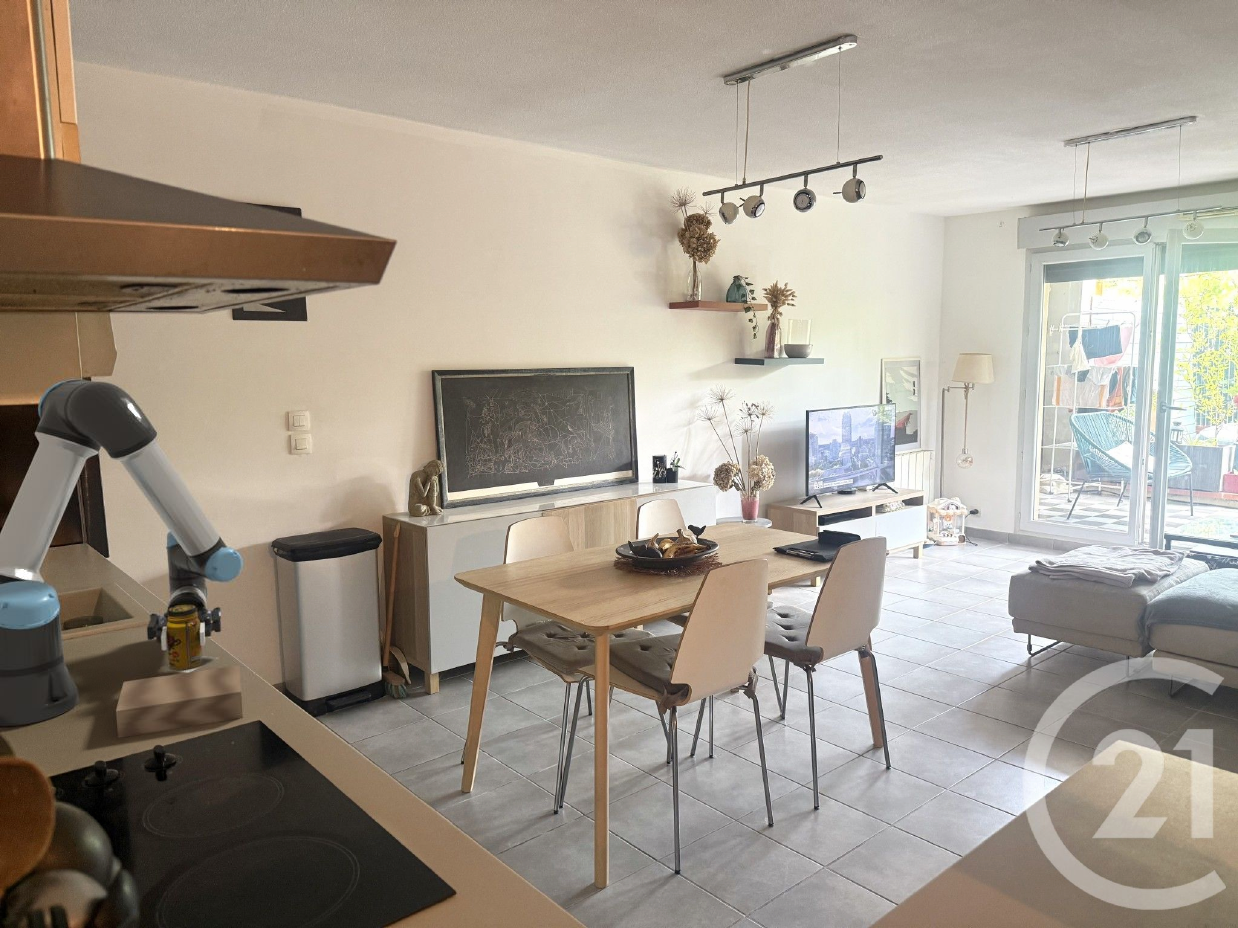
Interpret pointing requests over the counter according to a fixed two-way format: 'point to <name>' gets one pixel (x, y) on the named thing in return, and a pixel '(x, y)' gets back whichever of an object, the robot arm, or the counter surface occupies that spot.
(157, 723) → the stand
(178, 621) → the condiment
